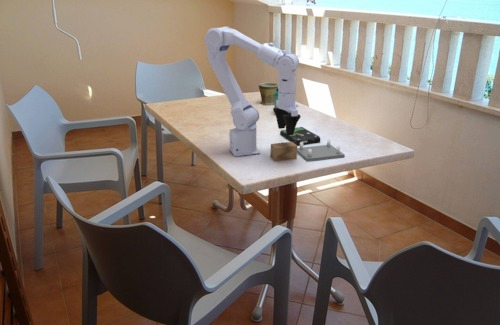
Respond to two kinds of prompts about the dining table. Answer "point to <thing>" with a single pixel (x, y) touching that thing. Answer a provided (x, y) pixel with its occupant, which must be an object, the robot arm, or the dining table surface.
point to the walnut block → (283, 151)
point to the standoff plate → (319, 152)
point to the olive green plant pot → (268, 93)
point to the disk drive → (301, 136)
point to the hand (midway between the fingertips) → (285, 131)
